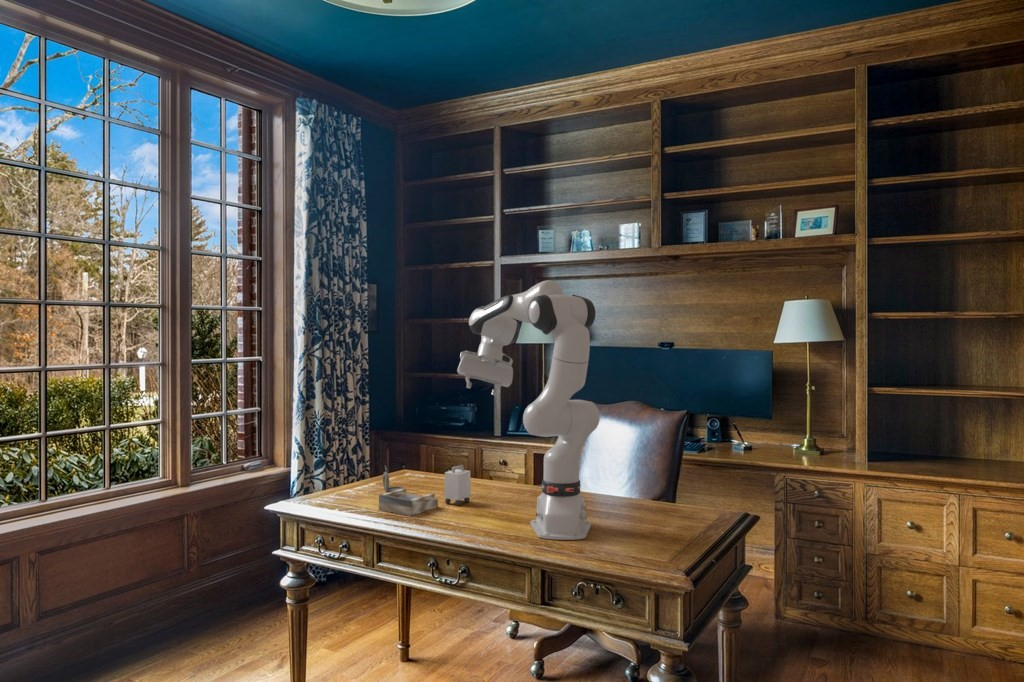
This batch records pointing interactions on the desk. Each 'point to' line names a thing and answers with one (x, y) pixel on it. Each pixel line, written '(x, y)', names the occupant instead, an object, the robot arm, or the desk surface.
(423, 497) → the dock
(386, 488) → the pocket watch
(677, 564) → the desk surface
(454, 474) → the trolley
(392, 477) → the desk surface
